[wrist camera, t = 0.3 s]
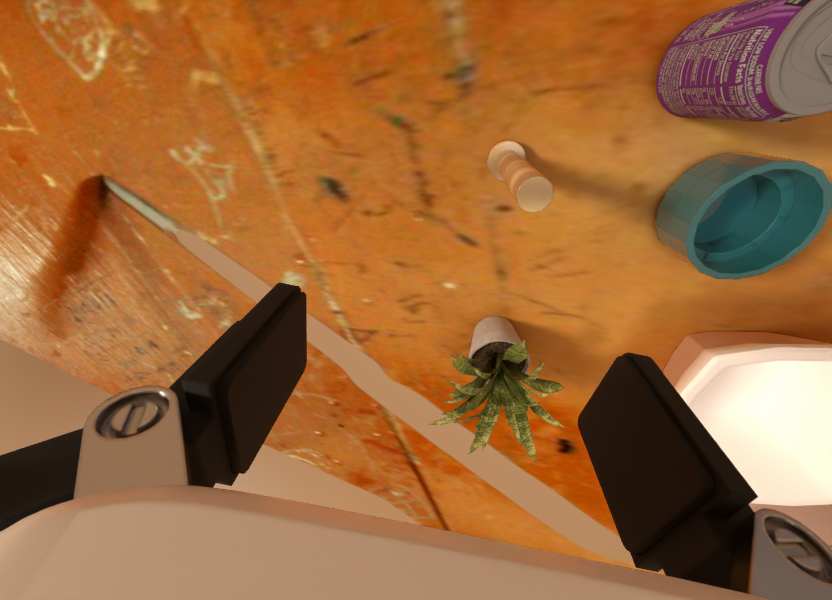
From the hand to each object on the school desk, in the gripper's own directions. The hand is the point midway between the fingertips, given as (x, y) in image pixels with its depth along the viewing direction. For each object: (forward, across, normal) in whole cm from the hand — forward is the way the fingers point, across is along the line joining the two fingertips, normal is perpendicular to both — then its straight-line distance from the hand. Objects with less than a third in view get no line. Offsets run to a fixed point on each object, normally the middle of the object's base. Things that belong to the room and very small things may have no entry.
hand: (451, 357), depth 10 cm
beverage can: (+28, -18, -12) cm, 36 cm away
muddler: (+28, -4, -3) cm, 29 cm away
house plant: (+29, -9, +17) cm, 34 cm away
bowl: (+29, -39, +17) cm, 51 cm away
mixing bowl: (+28, -26, -2) cm, 38 cm away
